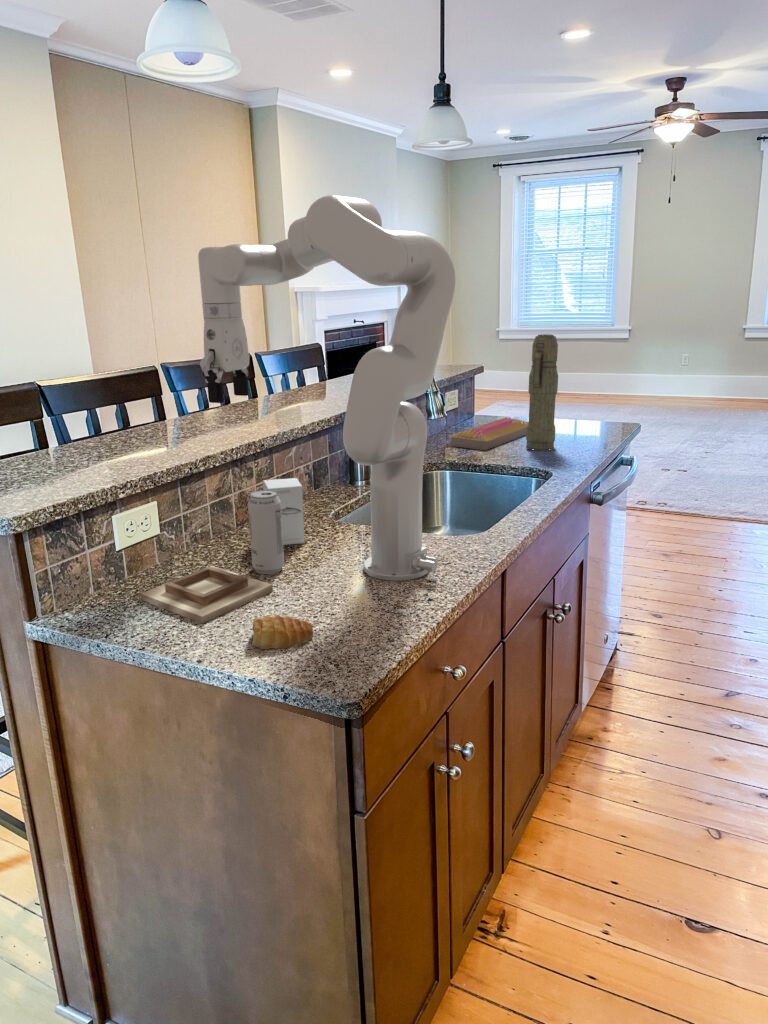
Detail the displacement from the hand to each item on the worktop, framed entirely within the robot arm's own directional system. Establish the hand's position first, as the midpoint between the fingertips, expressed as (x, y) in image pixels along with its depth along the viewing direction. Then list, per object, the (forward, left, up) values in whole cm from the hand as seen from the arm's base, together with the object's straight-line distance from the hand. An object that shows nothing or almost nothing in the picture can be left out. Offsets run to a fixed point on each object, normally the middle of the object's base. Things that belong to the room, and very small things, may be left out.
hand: (229, 398), depth 156 cm
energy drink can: (-20, +11, -30) cm, 37 cm away
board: (-20, +26, -29) cm, 44 cm away
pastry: (-42, +31, -30) cm, 60 cm away
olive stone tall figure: (-17, -113, -30) cm, 118 cm away
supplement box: (-11, -3, -30) cm, 32 cm away
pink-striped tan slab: (+2, -117, -30) cm, 121 cm away
